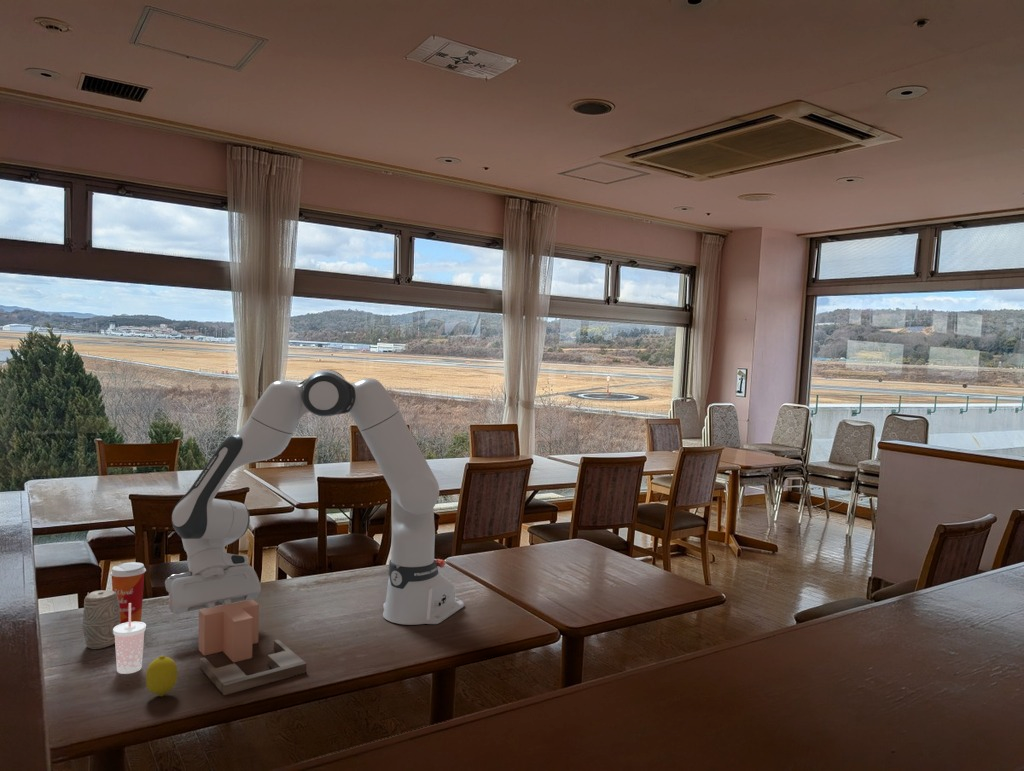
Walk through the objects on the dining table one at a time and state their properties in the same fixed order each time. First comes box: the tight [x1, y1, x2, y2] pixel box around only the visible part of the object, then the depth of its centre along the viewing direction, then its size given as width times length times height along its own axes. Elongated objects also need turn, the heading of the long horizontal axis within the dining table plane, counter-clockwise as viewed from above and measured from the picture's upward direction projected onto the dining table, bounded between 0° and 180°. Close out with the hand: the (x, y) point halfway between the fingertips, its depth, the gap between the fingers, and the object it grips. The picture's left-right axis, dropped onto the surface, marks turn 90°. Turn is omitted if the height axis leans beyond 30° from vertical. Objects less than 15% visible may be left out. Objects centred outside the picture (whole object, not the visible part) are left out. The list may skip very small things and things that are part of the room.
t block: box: [198, 599, 260, 663], centre depth 162 cm, size 11×12×9 cm
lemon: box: [145, 655, 178, 697], centre depth 141 cm, size 6×6×8 cm
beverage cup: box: [113, 603, 147, 675], centre depth 151 cm, size 6×6×14 cm
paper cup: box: [109, 561, 147, 624], centre depth 175 cm, size 8×8×14 cm
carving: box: [82, 589, 120, 650], centre depth 162 cm, size 6×8×12 cm
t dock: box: [199, 639, 307, 696], centre depth 153 cm, size 15×17×2 cm
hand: (222, 621), depth 168 cm, fingers closed
